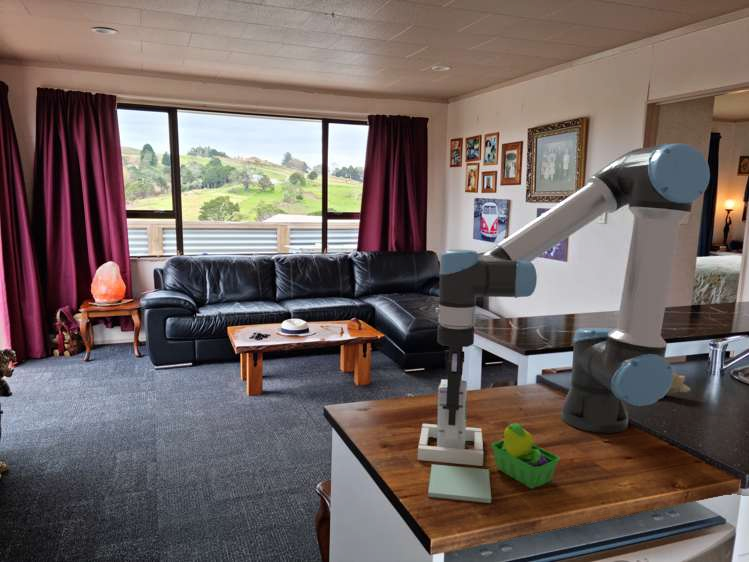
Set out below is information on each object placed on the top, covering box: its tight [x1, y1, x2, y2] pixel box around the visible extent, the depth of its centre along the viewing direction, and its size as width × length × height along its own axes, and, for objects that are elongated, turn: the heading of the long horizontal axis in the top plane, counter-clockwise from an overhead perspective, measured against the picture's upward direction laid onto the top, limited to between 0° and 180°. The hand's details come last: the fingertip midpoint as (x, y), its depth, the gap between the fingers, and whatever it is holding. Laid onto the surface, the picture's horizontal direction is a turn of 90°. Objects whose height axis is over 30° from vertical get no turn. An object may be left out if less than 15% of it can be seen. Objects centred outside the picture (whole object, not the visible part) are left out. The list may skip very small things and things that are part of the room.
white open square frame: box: [417, 423, 484, 467], centre depth 119 cm, size 13×13×2 cm
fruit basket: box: [491, 422, 561, 489], centre depth 108 cm, size 11×9×11 cm
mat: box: [427, 463, 492, 504], centre depth 104 cm, size 11×11×1 cm
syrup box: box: [436, 378, 468, 449], centre depth 118 cm, size 6×6×14 cm
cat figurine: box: [667, 372, 691, 395], centre depth 155 cm, size 8×7×12 cm
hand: (451, 430), depth 119 cm, fingers open, 7 cm apart
